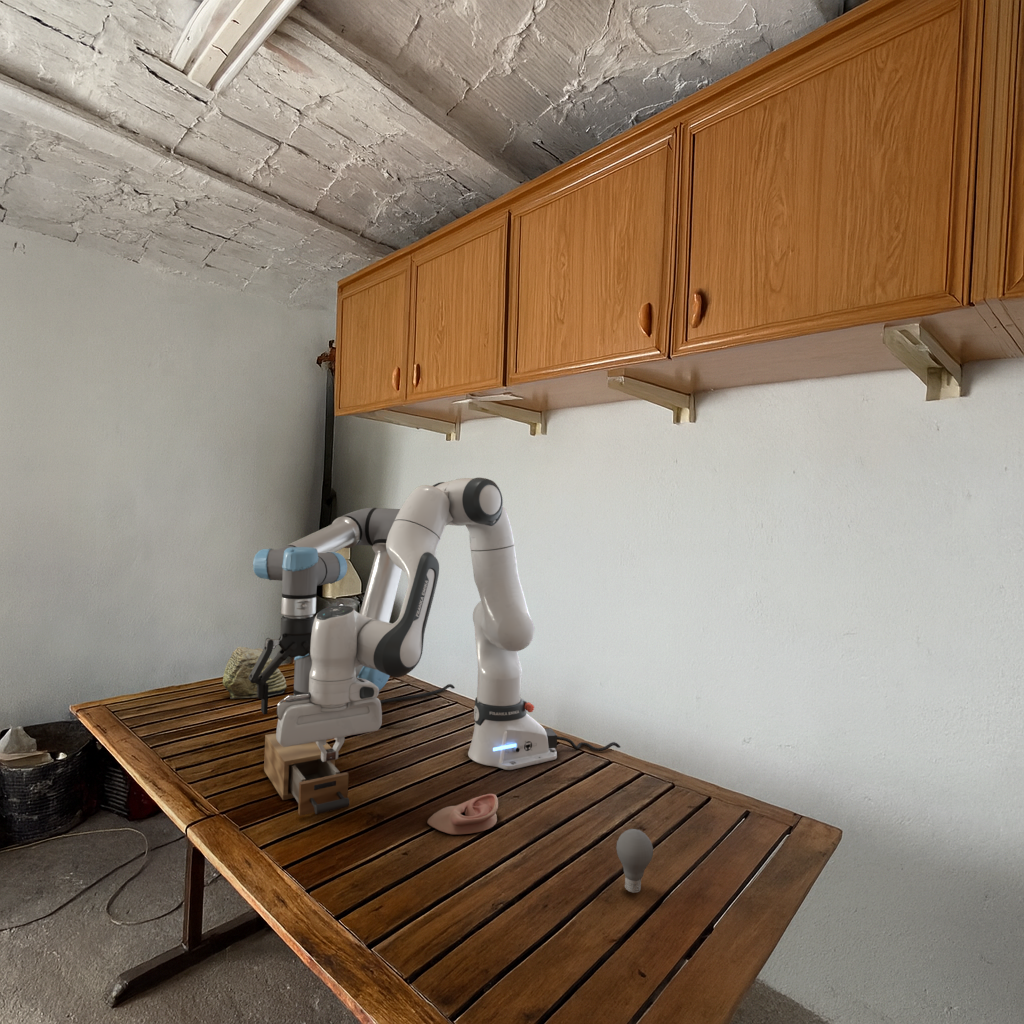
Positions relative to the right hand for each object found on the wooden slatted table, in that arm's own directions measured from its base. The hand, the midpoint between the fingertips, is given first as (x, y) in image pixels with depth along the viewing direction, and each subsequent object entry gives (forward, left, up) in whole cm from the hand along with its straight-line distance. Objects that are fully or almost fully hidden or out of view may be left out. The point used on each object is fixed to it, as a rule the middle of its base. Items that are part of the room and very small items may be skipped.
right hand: (329, 759), depth 125 cm
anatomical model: (-25, +9, -12) cm, 29 cm away
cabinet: (+4, -20, -12) cm, 23 cm away
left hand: (+5, -24, +3) cm, 24 cm away
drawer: (+1, -7, -11) cm, 13 cm away
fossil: (+13, -85, -12) cm, 86 cm away
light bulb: (-45, +39, -12) cm, 61 cm away
